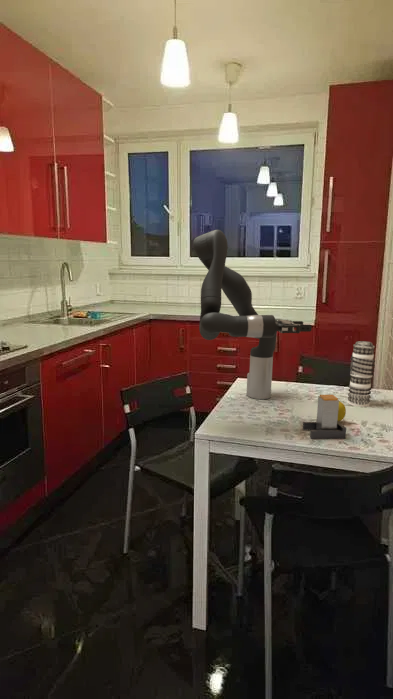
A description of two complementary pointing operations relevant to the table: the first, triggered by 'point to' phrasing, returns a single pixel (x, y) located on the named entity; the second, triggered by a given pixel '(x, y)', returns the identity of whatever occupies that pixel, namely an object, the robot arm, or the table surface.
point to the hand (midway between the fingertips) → (306, 326)
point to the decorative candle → (361, 374)
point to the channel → (325, 431)
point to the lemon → (341, 411)
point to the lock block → (327, 412)
